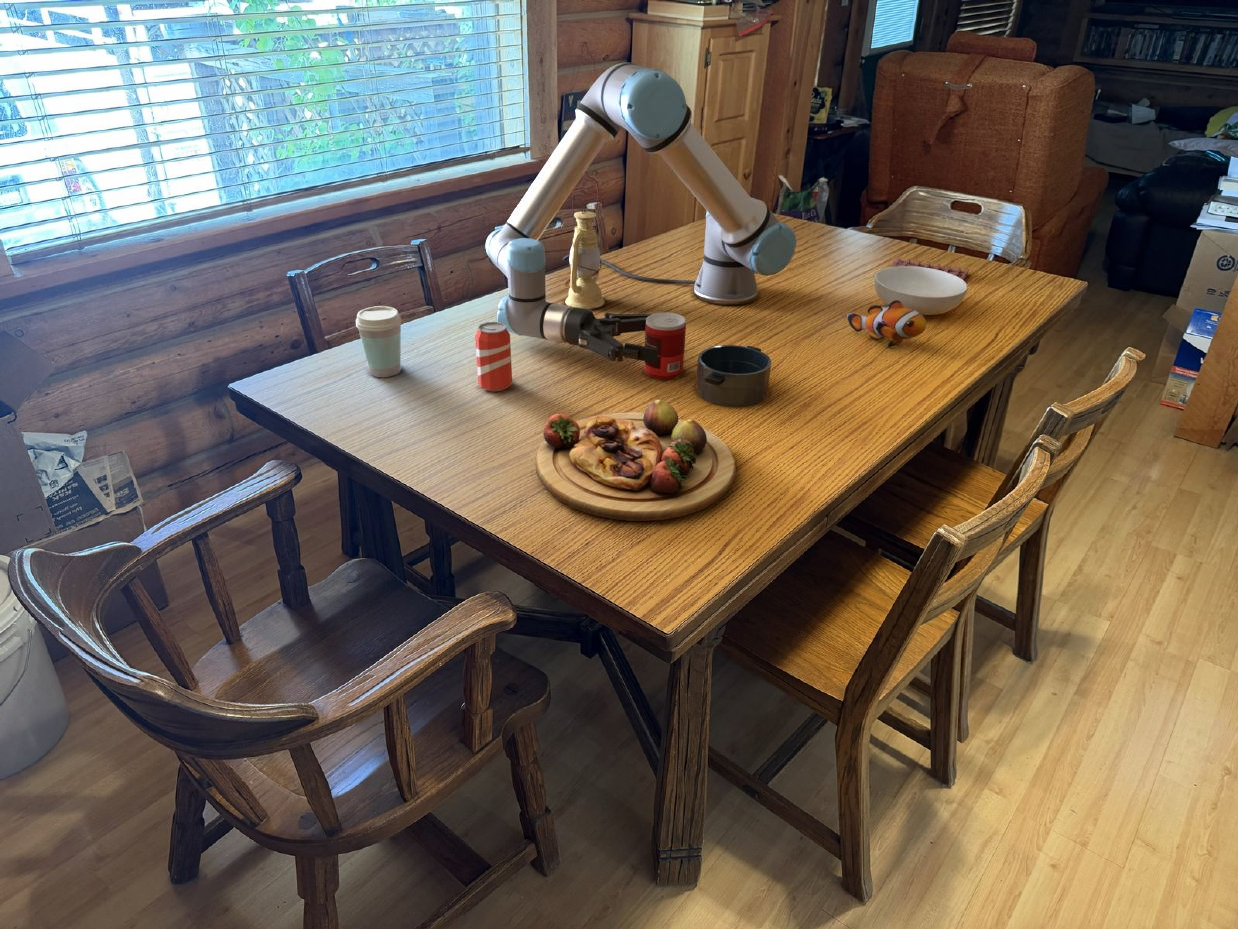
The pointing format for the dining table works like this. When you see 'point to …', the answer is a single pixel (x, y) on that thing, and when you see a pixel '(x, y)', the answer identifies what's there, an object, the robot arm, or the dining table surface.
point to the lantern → (584, 262)
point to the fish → (889, 322)
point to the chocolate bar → (932, 267)
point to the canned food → (665, 344)
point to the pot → (734, 375)
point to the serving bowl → (920, 288)
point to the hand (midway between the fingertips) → (669, 343)
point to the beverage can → (493, 356)
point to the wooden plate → (634, 464)
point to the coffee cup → (381, 339)
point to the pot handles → (719, 379)
